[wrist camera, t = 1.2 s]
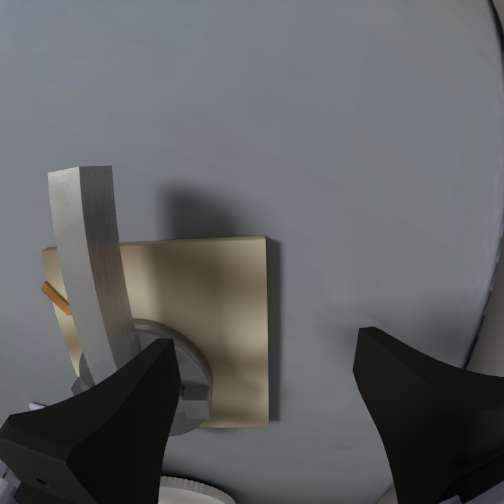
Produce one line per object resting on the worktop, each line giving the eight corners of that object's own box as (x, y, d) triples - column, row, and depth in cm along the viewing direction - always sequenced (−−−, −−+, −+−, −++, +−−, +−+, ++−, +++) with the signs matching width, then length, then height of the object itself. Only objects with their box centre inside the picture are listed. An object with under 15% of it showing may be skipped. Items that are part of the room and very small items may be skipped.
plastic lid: (145, 455, 26) (140, 472, 23) (256, 490, 28) (257, 506, 25) (118, 492, 29) (114, 505, 26) (208, 521, 31) (207, 534, 29)
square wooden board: (267, 418, 24) (268, 428, 22) (92, 408, 23) (88, 417, 22) (264, 235, 19) (265, 240, 18) (41, 247, 19) (32, 252, 18)
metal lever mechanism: (219, 421, 22) (215, 477, 16) (109, 413, 22) (88, 460, 16) (192, 158, 17) (168, 153, 11) (50, 178, 16) (-7, 186, 11)
